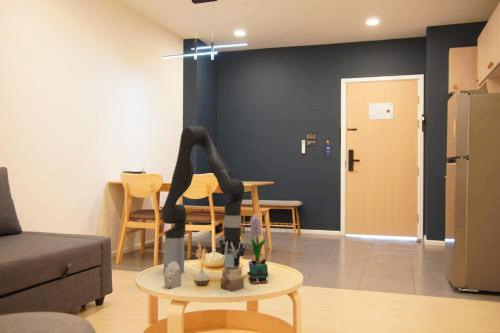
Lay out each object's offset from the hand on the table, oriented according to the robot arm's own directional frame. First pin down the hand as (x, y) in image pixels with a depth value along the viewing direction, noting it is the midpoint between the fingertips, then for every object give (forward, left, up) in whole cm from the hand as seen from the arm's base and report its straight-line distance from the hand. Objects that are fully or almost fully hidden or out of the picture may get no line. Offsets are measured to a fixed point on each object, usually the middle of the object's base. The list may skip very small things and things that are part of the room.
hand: (232, 265), depth 189 cm
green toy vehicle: (+1, +16, -10) cm, 19 cm away
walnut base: (0, 0, -10) cm, 10 cm away
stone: (-21, -15, -10) cm, 28 cm away
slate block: (0, 0, -1) cm, 1 cm away
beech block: (0, 0, -6) cm, 6 cm away
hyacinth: (-3, +22, -10) cm, 25 cm away
